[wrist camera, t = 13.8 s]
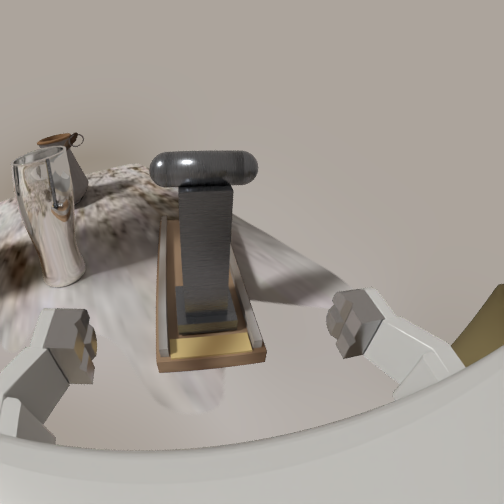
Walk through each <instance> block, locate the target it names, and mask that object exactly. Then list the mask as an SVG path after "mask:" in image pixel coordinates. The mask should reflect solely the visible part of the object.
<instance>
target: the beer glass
mask: <svg viewBox="0 0 504 504" xmlns="http://www.w3.org/2000/svg"><path fill="white" fill-rule="evenodd" d="M11 167H12V176H13V185H14V192H15V197H16V202H17V206H18V210H19V213H20V216H21V218H22V221H23V223H24V225H25V228H26V230H27V232H28V234H29V236H30V238H31V240H32V242H33V244H34V246H35V248H36V251H37V253H38V256H39V259H40V264H41V270H42V276H43V280H44V282H45V283H46V284H47V285H49V286H51V287H64V286H68V285H70V284H72V283H74V282H76V281H77V280H78V279H80V278H81V277H82V275H83V274H84V272H85V269H86V265H85V262H84V260H83V258H82V256H81V254H80V251H79V249H78V246H77V242H76V236H75V213H74V193H73V185H72V178H71V172H70V168H69V163H68V158H67V153H66V147H65V146H51V147H46V148H41V149H38V150H35V151H31V152H29V153H26V154H24V155H21V156H19V157H18V158H16V159H14V160H13V161H12V162H11Z"/></svg>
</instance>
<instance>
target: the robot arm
mask: <svg viewBox="0 0 504 504" xmlns="http://www.w3.org/2000/svg"><path fill="white" fill-rule="evenodd" d="M332 301H333V303H334V305H333V306H332V307H331V308H330V309H329V310H328V314H327V317H326V322H327V328H328V331H329V333H330V335H331V336H333V337H334V338H336V339H337V342H336V346H337V348H338V350H339V352H340V353H341V355H342V357H343V359H345V358H350V357H354V356H359V355H363V356H364V357H365V358H367V359H368V360H369V361H370V362H372V363H373V364H374V365H375V366H377V367H378V368H380V369H381V370H382V371H383V372H384V373H386V374H387V375H388V376H390V377H391V378H392V379H393V380H395V381H396V382H397V383H399V384H400V385H399V386H398V387H397V389H396V390H395V391H394V392H393V395H392V396H393V398H394V400H395V401H394V402H391V403H389V404H386V405H383V406H381V407H378V408H376V409H373V410H370V411H367V412H364V413H361V414H358V415H355V416H352V417H349V418H346V419H343V420H339V421H336V422H333V423H329V424H326V425H322V426H318V427H315V428H311V429H307V430H303V431H299V432H294V433H290V434H286V435H281V436H276V437H271V438H266V439H261V440H255V441H249V442H243V443H236V444H229V445H221V446H212V447H203V448H191V449H175V450H135V451H134V450H107V449H92V448H81V447H71V446H63V445H56V444H55V441H56V438H55V436H54V435H53V434H52V433H51V432H50V431H49V430H48V429H47V428H46V427H45V426H44V425H43V424H44V423H45V421H46V420H47V418H48V417H49V415H50V413H51V412H52V411H53V409H54V407H55V406H56V404H57V403H58V402H59V400H60V399H61V397H62V396H63V394H64V393H65V391H66V390H67V388H68V387H69V386H70V385H69V384H93V378H94V369H95V367H94V365H93V362H92V360H93V359H94V357H95V356H96V352H97V339H96V334H95V331H94V328H93V327H92V326H91V325H89V319H90V317H89V315H88V312H87V310H85V309H60V308H57V309H50V308H44V309H43V310H42V311H41V313H40V316H39V319H38V322H37V325H36V328H35V331H34V334H33V337H32V340H31V343H30V347H25V348H24V350H22V351H21V352H20V353H19V354H18V355H17V356H16V357H15V358H14V359H13V360H12V361H11V362H10V363H9V364H8V365H7V366H6V367H5V368H4V369H3V370H2V371H1V372H0V504H504V345H503V346H501V347H500V348H498V349H496V350H495V351H493V352H492V353H490V354H488V355H487V356H485V357H483V358H482V359H480V360H478V361H477V362H475V363H473V364H471V365H470V366H468V367H465V366H464V364H463V363H462V362H461V360H460V359H459V357H458V356H457V355H456V353H455V352H454V350H453V349H452V348H451V346H450V345H449V344H448V343H447V342H445V341H443V340H441V339H440V338H438V337H436V336H434V335H433V334H431V333H429V332H427V331H426V330H424V329H422V328H420V327H418V326H417V325H415V324H413V323H411V322H410V321H408V320H406V319H404V318H402V317H401V316H399V317H397V316H396V315H395V313H394V312H393V311H392V309H391V308H390V307H389V305H388V304H387V303H386V301H385V300H384V299H383V297H382V296H381V295H380V293H379V292H378V291H377V289H375V288H373V287H370V288H363V289H356V290H349V291H341V292H337V293H336V294H335V295H334V297H333V300H332Z"/></svg>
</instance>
